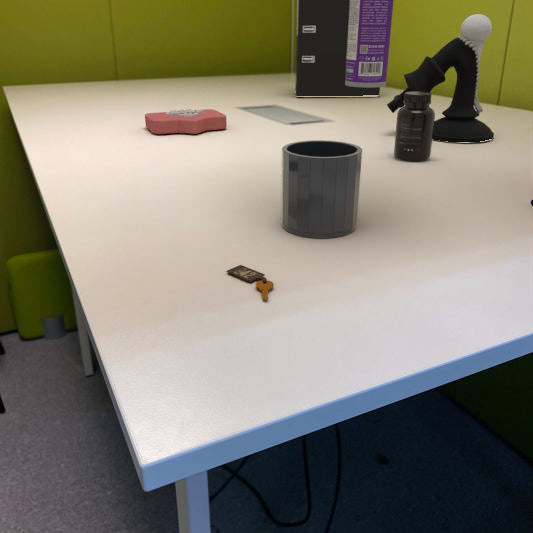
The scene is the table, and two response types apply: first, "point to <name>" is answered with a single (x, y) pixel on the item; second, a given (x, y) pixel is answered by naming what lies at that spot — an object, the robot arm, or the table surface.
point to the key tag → (253, 278)
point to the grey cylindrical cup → (320, 188)
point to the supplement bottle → (414, 128)
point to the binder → (324, 49)
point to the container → (368, 42)
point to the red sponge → (185, 121)
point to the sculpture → (465, 98)
